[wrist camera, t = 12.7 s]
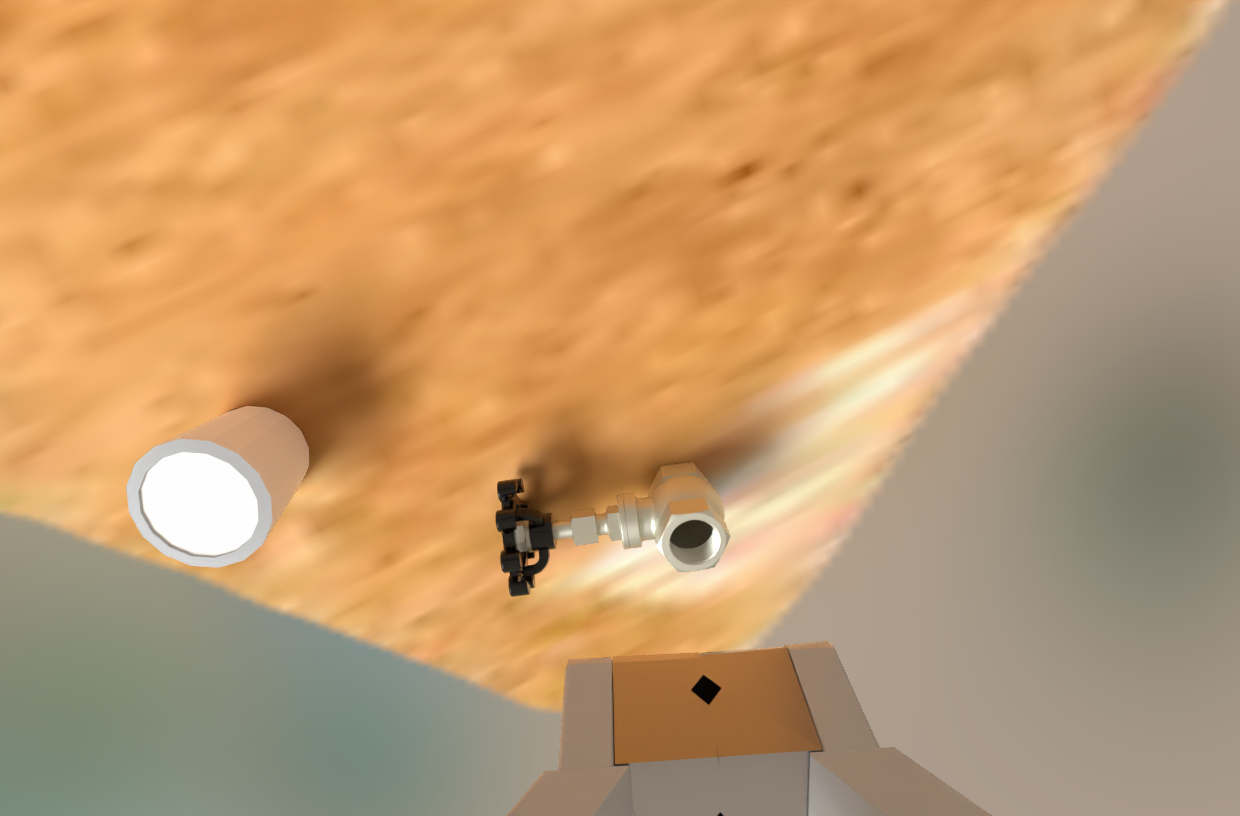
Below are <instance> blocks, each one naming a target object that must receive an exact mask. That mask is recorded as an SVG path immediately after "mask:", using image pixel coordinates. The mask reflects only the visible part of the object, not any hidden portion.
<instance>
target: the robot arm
mask: <svg viewBox="0 0 1240 816" xmlns="http://www.w3.org/2000/svg"><path fill="white" fill-rule="evenodd" d="M507 816H992V815H990V814H989V813H987V812H986V811H984V810H983V809H982V808H980V807H979V806H977V805H976V804H974V803H973V802H972V801H970V800H969V799H967V798H966V797H964V796H963V795H962V794H960V793H959V792H957V791H956V790H954V789H953V788H952V787H950V786H948V785H947V784H946V783H944V782H943V781H942V780H940V779H939V778H937V777H936V776H934V775H933V774H932V773H930V772H929V771H927V770H926V769H924V768H923V767H922V766H920V765H919V764H917V763H916V762H914V761H913V760H912V759H910V758H909V757H907V756H906V755H904V754H903V753H901V752H900V751H899V750H897V749H896V748H894V747H890V748H880V747H879V745H878V743H877V741H876V738H875V736H874V734H873V732H872V729H871V727H870V725H869V723H868V721H867V719H866V716H865V714H864V712H863V710H862V708H861V705H860V703H859V701H858V699H857V697H856V694H855V692H854V690H853V688H852V686H851V684H850V681H849V679H848V677H847V675H846V672H845V670H844V668H843V666H842V664H841V662H840V659H839V657H838V655H837V653H836V650H835V648H834V646H833V645H831V644H830V643H829V642H828V641H824V642H814V643H804V644H793V645H784V647H775V648H760V649H747V650H734V651H720V652H707V653H680V654H659V655H637V656H616V657H613V660H612V658H610V657H604V658H587V659H570V660H569V661H568V663H567V666H566V670H565V684H564V698H563V711H562V726H561V740H560V754H559V767H558V770H556V771H545V772H544V773H543V774H542V775H541V776H540V777H539V778H538V780H537V781H536V782H535V783H534V784H533V786H532V787H531V788H530V789H529V790H528V791H527V792H526V794H525V795H524V796H523V797H522V798H521V799H520V801H519V802H518V803H517V804H516V805H515V806H514V808H513V809H512V810H511V811H510V812H509V814H508V815H507Z"/></svg>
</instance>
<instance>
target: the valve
mask: <svg viewBox="0 0 1240 816" xmlns="http://www.w3.org/2000/svg"><path fill="white" fill-rule="evenodd" d="M497 491H498V497H499V500H500V502H501V503H502V510H498V511H497V512H496V526H497V529H498V531H499V532H502V536H503V544H504V551H502V552H501V555H500V560H501V568H502V571H503V572H504V573H507V572H510V576H509V592H510V595H511V596H512V597H514V596H522V595H529V594H530V588H534V587H535V574H538V573H540V572H541V571H543V570H544V569H545V568H546V566H547V564H548V562H549V558H550V551H549V550H552V549H556V546H557V540H558V539H565V538H573V541H574V544H575V545H576V546H577V545H585V544H592V543H599V536H600V535H609V536H610V539H611V540H612V541H615V540H622V542H623V548H624V549H630V548H638V547H642V541H644V540H652V539H655V541H656V546H657V547H658V549H659V550H660V551H661V553H662V554H663V555H664V556H665V558H666V559H667V560H668V561H669V562H670V564H671V565H672V566H673V567H674V568H675V569H676V570H677V571H678V572H689V571H698V570H704V569H709V568H713V567H715V566H716V564H717V563H718V561H719V559H720V557H721V556H722V554H723V552H724V550H725V548H726V546H727V543H728V541H729V538H730V534H729V531H728V529H727V526H726V523H725V522H724V506H723V502H722V500H721V498H720V495H719V494H718V492H717V491H716V490H715V488H714V487H713V486H712V485H711V484H710V483H709V482H708V480H707V479H706V478H705V477H704V475H703V474H702V473H701V471H700V470H699V469H698V468H697V466H696V465H695V464H694V463H693V462H688V463H680V464H672V465H665V466H660V468H659V470H658V472H657V475H656V477H655V479H654V481H653V483H652V485H651V487H650V490H649V492H648V497H646V498H639V499H638V498H636V497H635V493H630V494H623V495H617V503H618V505H614V506H608V507H607V509H606V513H604V514H597V515H596V513H595V508H591V509H583V510H575V511H572V512H571V520H563V521H556V522H555V521H554V517H553V514H552V513H547V514H543V513H540V512H539V511H537V510H534V509H530V506H529V504H528V503H524V504H521V502H520V499H519V497H518V496H517V493H521V492H524V484H523V480H522V479H521V478H520V479H512V480H505V481H499V482H498V484H497ZM536 551H539V561H538V562H537V563H536V564H534V565H528V559H531V558H535V552H536Z"/></svg>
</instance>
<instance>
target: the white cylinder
mask: <svg viewBox="0 0 1240 816" xmlns="http://www.w3.org/2000/svg"><path fill="white" fill-rule="evenodd" d="M308 467H309V447H308V445H307V442H306V440H305V438H304V436H303V434H302V432H301V430H300V429H299V428H298V427H297V426H296V425H295V424H294V423H293V422H292V421H291V420H290V419H289V418H288V417H287V416H285V415H283V414H281V413H278V412H276V411H274V410H272V409H270V408H267V407H256V406H245V407H241V408H238V409H235V410H232V411H229V412H226V413H224V414H222V415H220V416H218V417H216V418H214V419H212V420H210V421H207V422H205V423H203V424H201V425H199V426H197V427H195V428H193V429H191V430H188V431H186V432H184V433H182V434H180V435H178V436H176V437H174V438H172V439H169V440H167V441H165V442H163V443H161V444H159V445H157V446H155V447H153V448H152V449H151V450H150V451H149V452H148V453H147V454H145V455H144V456H143V457H142V458H141V459H140V460H139V461H138V462H137V463H135V465H134V468H133V470H132V473H131V476H130V479H129V481H128V484H127V487H126V489H127V497H128V506H129V513H130V515H131V517H132V518H133V520H134V522H135V524H136V525H137V527H138V529H139V531H140V532H141V534H142V536H143V537H144V538H145V539H147V540H148V541H149V542H150V543H151V544H152V545H154V546H155V547H156V548H157V549H158V550H159V551H161V552H162V553H163V554H164V555H166V556H169V557H171V558H174V559H176V560H178V561H181V562H183V563H186V564H188V565H191V566H203V567H218V568H219V567H223V566H226V565H229V564H233V563H236V562H239V561H243V560H245V559H246V558H247V557H248V556H250V555H251V554H252V553H253V552H254V551H256V550H257V549H258V548H259V547H260V546H262V545H263V543H264V542H265V540H266V538H267V537H268V535H269V534H270V532H271V530H272V529H273V527H274V526H275V524H276V522H277V521H278V519H279V518H280V516H281V514H282V513H283V511H284V510H285V508H286V506H287V505H288V503H289V502H290V500H291V498H292V497H293V495H294V494H295V492H296V490H297V489H298V487H299V486H300V484H301V482H302V481H303V478H304V476H305V474H306V472H307V469H308Z"/></svg>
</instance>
